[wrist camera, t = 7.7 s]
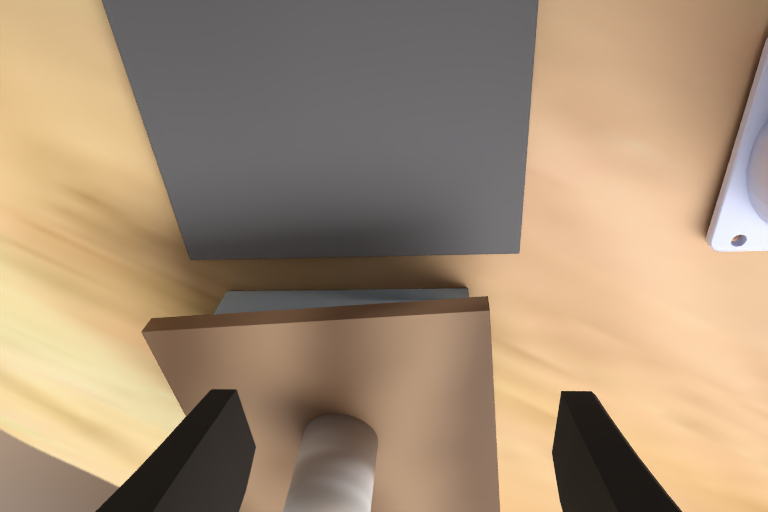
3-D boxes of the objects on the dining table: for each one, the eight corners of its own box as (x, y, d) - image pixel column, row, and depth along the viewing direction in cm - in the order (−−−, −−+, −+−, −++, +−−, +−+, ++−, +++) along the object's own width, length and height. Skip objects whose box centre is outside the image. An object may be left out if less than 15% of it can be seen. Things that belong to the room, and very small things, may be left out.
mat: (551, -207, 13) (554, -211, 13) (518, 248, 21) (519, 253, 20) (60, -147, 15) (51, -149, 14) (194, 255, 22) (190, 260, 22)
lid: (487, 296, 18) (500, 388, 14) (498, 508, 25) (509, 607, 21) (151, 318, 20) (87, 404, 16) (247, 508, 27) (218, 599, 23)
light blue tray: (468, 288, 22) (473, 343, 19) (466, 449, 28) (469, 510, 25) (226, 291, 23) (196, 343, 20) (273, 444, 29) (255, 501, 26)
